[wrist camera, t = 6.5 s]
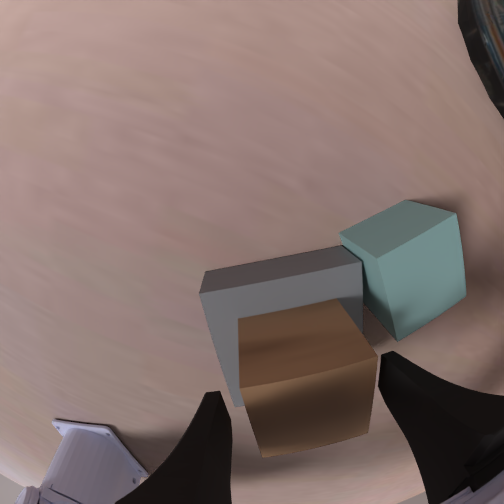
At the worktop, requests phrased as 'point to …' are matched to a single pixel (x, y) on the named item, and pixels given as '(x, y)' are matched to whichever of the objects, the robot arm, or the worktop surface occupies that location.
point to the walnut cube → (305, 377)
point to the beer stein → (485, 43)
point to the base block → (276, 296)
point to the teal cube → (408, 264)
